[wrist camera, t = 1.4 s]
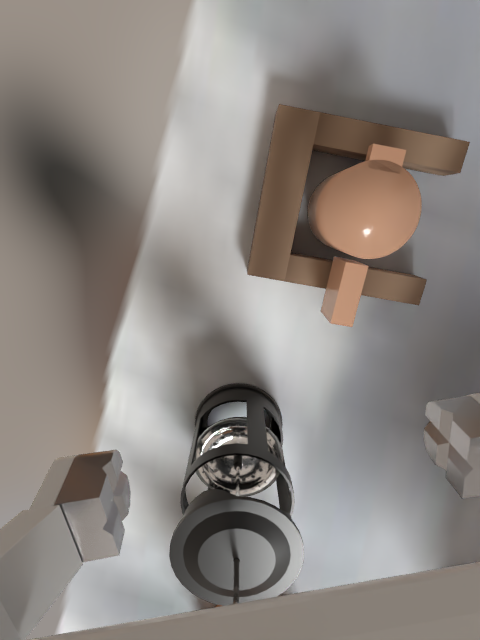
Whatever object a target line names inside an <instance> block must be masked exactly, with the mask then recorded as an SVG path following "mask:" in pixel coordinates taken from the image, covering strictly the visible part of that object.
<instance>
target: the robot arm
mask: <svg viewBox="0 0 480 640" xmlns="http://www.w3.org/2000/svg"><path fill="white" fill-rule="evenodd" d="M425 415H426V417H427V418H428V419H429V420H430V422H429V423H428V424H427V426H426V427H425V428H424V443H425V447H426V450H427V452H428V454H429V456H430V458H431V459H432V461H433V462H434V463H435V465H437V466H439V467H441V468H443V469H445V470H447V471H446V479H447V480H448V481H449V483H450V484H451V485H452V486H453V488H454V489H455V490H456V491H457V493H458V494H459V495H460V496H461V498H462V499H463V498H470V497H478V496H480V393H475V394H470V395H465V396H462V397H455V398H449V399H443V400H437V401H430V402H428V404H427V406H426V411H425ZM122 464H123V461H122V458H121V455H120V452H119V451H118V450H110V451H103V452H95V453H88V454H80V455H74V456H67V457H60V458H57V459H56V460H55V461H54V462H53V464H52V466H51V467H50V470H49V471H48V474H47V475H46V477H45V479H44V481H43V483H42V486H41V487H40V489H39V491H38V493H37V495H36V497H35V499H34V501H33V503H32V505H31V507H30V509H29V510H24V511H22V512H21V513H19V514H18V515H17V516H16V517H14V518H13V519H12V520H11V521H10V522H8V523H7V524H6V525H5V526H4V527H2V528H1V529H0V640H26V639H27V637H28V636H29V635H30V633H31V632H32V631H33V629H34V628H35V627H36V625H37V624H38V623H39V621H40V620H41V619H42V618H43V616H44V615H45V614H46V612H47V611H48V610H49V608H50V607H51V606H52V604H53V603H54V602H55V601H56V599H57V598H58V597H59V595H60V594H61V593H62V591H63V590H64V589H65V587H66V586H67V585H68V583H69V582H70V581H71V580H72V578H73V577H74V576H75V574H76V573H77V572H78V570H79V569H80V568H81V566H82V565H83V563H82V562H87V561H92V560H97V559H103V558H108V557H113V556H118V555H119V554H120V549H121V545H122V540H123V536H124V531H125V529H124V526H123V523H122V520H123V519H124V518H125V517H126V516H127V515H128V512H129V507H130V486H129V481H128V477H127V475H126V474H124V473H123V472H122V471H121V467H122ZM29 640H480V562H475V563H469V564H463V565H457V566H451V567H446V568H440V569H434V570H428V571H422V572H417V573H411V574H405V575H399V576H393V577H388V578H382V579H376V580H370V581H364V582H359V583H353V584H347V585H341V586H335V587H330V588H324V589H318V590H312V591H307V592H301V593H295V594H289V595H283V596H278V597H272V598H266V599H260V600H254V601H249V602H243V603H237V604H231V605H225V606H220V607H214V608H208V609H202V610H196V611H191V612H185V613H179V614H173V615H168V616H162V617H156V618H150V619H144V620H139V621H133V622H127V623H121V624H115V625H110V626H104V627H98V628H92V629H87V630H81V631H75V632H69V633H64V634H58V635H52V636H47V637H41V638H35V639H29Z"/></svg>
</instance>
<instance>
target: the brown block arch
mask: <svg viewBox="0 0 480 640" xmlns="http://www.w3.org/2000/svg"><path fill="white" fill-rule="evenodd" d="M469 143H470V142H467V141H462V140H457V139H452V138H447V137H442V136H437V135H432V134H427V133H422V132H417V131H412V130H407V129H402V128H397V127H392V126H387V125H382V124H377V123H372V122H366V121H361V120H356V119H351V118H346V117H341V116H336V115H331V114H326V113H321V112H316V111H311V110H306V109H301V108H296V107H291V106H286V105H281V104H279V106H278V109H277V112H276V116H275V121H274V127H273V132H272V138H271V143H270V149H269V154H268V160H267V165H266V170H265V176H264V181H263V187H262V192H261V198H260V203H259V208H258V214H257V219H256V225H255V230H254V236H253V241H252V246H251V252H250V257H249V263H248V268H247V274H248V275H252V276H258V277H264V278H269V279H275V280H280V281H286V282H291V283H297V284H303V285H308V286H314V287H319V288H325V289H326V287H327V283H328V279H329V275H330V271H331V267H332V263H333V260H329V259H323V258H318V257H312V256H307V255H301V254H296V253H291V248H292V244H293V239H294V234H295V229H296V225H297V220H298V215H299V211H300V206H301V201H302V196H303V192H304V187H305V182H306V178H307V173H308V168H309V163H310V159H311V154H312V150H313V151H318V152H323V153H328V154H334V155H339V156H344V157H349V158H354V159H359V160H364V161H365V160H366V156H367V152H368V148H369V146H370V145H372V144H378V145H383V146H388V147H393V148H399V149H404V150H406V154H405V158H404V161H403V165H402V167H403V168H406V169H411V170H416V171H421V172H426V173H431V174H437V175H442V176H445V175H451V174H456V173H460V172H461V169H462V166H463V162H464V159H465V156H466V153H467V149H468V146H469ZM426 281H427V280H426V279H423V278H421V277H418V276H415V275H411V274H405V273H400V272H394V271H389V270H383V269H378V268H372V267H368V270H367V274H366V278H365V281H364V285H363V289H362V293H361V295H364V296H370V297H375V298H381V299H387V300H392V301H398V302H403V303H409V304H415V305H419V304H420V300H421V297H422V294H423V291H424V288H425V284H426Z"/></svg>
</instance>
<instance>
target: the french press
mask: <svg viewBox="0 0 480 640" xmlns="http://www.w3.org/2000/svg"><path fill="white" fill-rule="evenodd" d="M237 401H239V402H247V417H233V418H227V419H224V420H221V421H219V422H217V423H214V424H213V425H211V426H210V427H209V428H207V419H208V416H209V414H210V412H211V410H212V409H213V408H215V407H217V406H219V405H221V404H225V403H228V402H237ZM264 409H265V410H266V412H267V413H268V415H269V418H270V429H269V428H268V427H267V426H266V425H265V416H264ZM282 444H283V434H282V416H281V413H280V410H279V407H278V405H277V404H276V402H275V401H274V400H273V398H272V397H271V396H270V395H269V394H267V393H266V392H265V391H263V390H261V389H259V388H257V387H255V386H252V385H248V384H229V385H226V386H222V387H220V388H218V389H216V390H214V391H213V392H211V393H210V394H209V395H207V396H206V398H205V399H204V400H203V401H202V402H201V404H200V406H199V408H198V410H197V414H196V418H195V432H194V437H193V441H192V446H191V451H190V455H189V460H188V465H187V469H186V474H185V478H184V483H183V488H182V492H181V508H182V513H183V519H182V520H181V521H180V522H179V524H178V525H177V527H176V529H175V531H174V533H173V536H172V540H171V543H170V561H171V566H172V568H173V571H174V573H175V575H176V577H177V578H178V580H179V581H180V582H181V583H182V585H183V586H184V587H185V588H187V589H188V590H189V591H190V592H191V593H192V594H194V595H196V596H197V597H199V598H201V599H203V600H205V601H208V602H210V603H213V604H217V605H222V606H225V605H231V604H237V603H243V602H249V601H254V600H260V599H266V598H272V597H277V596H279V595H280V594H282V593H283V592H284V591H286V590H287V589H288V588H289V587H290V586H291V585H292V584H293V582H294V581H295V580H296V578H297V577H298V575H299V573H300V570H301V568H302V566H303V559H304V547H303V541H302V538H301V535H300V532H299V530H298V528H297V527H296V525H295V523H294V522H293V521H292V519H291V516H292V513H293V509H294V492H293V487H292V482H291V478H290V475H289V473H288V471H287V469H286V467H285V462H284V456H283V450H282ZM195 472H196V473H197V475H198V477H199V478H200V480H201V481H202V482H203V483H204V484H205V485H206V486H207V487H208V490H207V491H204V492H203V493H201V494H200V495H199V496H197V497H196V498H195V499H194V500H193V501H192V502H191V503H190V504H188V502H187V498H186V493H185V489H186V485H187V483H188V481H189V479H190V478H191V476H192V475H193V474H194V473H195ZM275 480H276V482H277V490H278V497H279V505H280V509H279V508H277V507H276V506H274V505H272V504H270V503H267V502H265V501H263V500H259V499H255V498H251V497H247V496H251V495H255V494H257V493H260V492H262V491H264V490H265V489H267V488H268V487H269V486H271V485H272V484H273V483H274V481H275ZM289 488H290V491H289Z"/></svg>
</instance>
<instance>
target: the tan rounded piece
mask: <svg viewBox="0 0 480 640" xmlns="http://www.w3.org/2000/svg"><path fill="white" fill-rule="evenodd" d="M405 154H406V150H404V149H399V148H393V147H388V146H383V145H378V144H372V145H370V146H369V148H368V152H367V156H366V160H365V162H362V163H359V164H357V165H354V166H352V167H350V168H347V169H345V170H343V171H340V172H338V173H336V174H333V175H331V176H329V177H328V178H326V179H325V180H323V181H322V182H321V183H320V184H319V185H318V186H317V187H316V189H315V190H314V192H313V194H312V196H311V198H310V201H309V204H308V222H309V226H310V228H311V230H312V232H313V234H314V235H315V237H316V238H317V239H318V240H319V241H320V242H322V243H323V244H324V245H326V246H328V247H331V248H333V249H336V250H339V251H341V252H344V253H346V254H349V255H352V256H354V257H358V258H362V259H376V258H381V257H384V256H387V255H389V254H391V253H393V252H395V251H397V250H398V249H399V248H401V247H402V246H403V245H404V244H405V243H406V242H407V241H408V240H409V239H410V237H411V236H412V234H413V233H414V231H415V229H416V227H417V225H418V222H419V219H420V215H421V207H422V206H421V195H420V191H419V188H418V185H417V183H416V181H415V180H414V178H413V177H412V176H411V174H410V173H409V172H408V171H407V170H406V169H404V168H403V167H402V165H403V161H404V158H405ZM367 270H368V266H367V265H365V264H362V263H360V262H358V261H355V260H351V259H346V258H340V257H335V256H334V258H333V263H332V267H331V271H330V275H329V279H328V283H327V287H326V291H325V296H324V300H323V304H322V308H321V312H322V313H323V315H324V316H325V317H326V318H327V320H328V321H329V322H330V323H332V324H337V325H343V326H349V327H352V326H353V322H354V319H355V315H356V311H357V307H358V304H359V300H360V296H361V293H362V289H363V285H364V281H365V278H366V274H367Z"/></svg>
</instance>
